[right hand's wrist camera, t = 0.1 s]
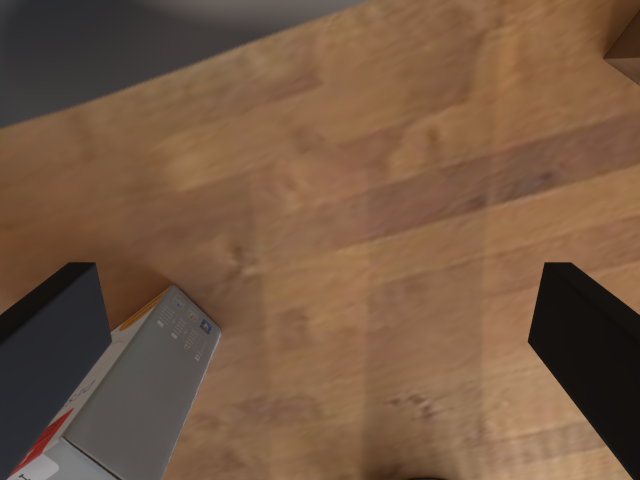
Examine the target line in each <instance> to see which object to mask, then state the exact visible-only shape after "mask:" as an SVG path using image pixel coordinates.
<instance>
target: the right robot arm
mask: <svg viewBox="0 0 640 480" xmlns="http://www.w3.org/2000/svg"><path fill="white" fill-rule="evenodd" d="M111 343H112V338H111V333H110V329H109V324H108V319H107V315H106V310H105V305H104V301H103V296H102V291H101V287H100V282H99V277H98V273H97V268H96V263H95V262H69V263H68V264H66V265H65V266H64V267H62V268H61V269H60V270H59V271H57V272H56V273H55V274H53V275H52V276H51V277H49V278H48V279H47V280H45V281H44V282H43V283H42V284H40V285H39V286H38V287H36V288H35V289H34V290H32V291H31V292H30V293H28V294H27V295H26V296H25V297H23V298H22V299H21V300H19V301H18V302H17V303H15V304H14V305H13V306H11V307H10V308H9V309H8V310H6V311H5V312H4V313H2V314H1V315H0V480H7V479H8V477H9V476H10V475H11V474H12V472H13V471H14V470H15V468H16V467H17V466H18V464H19V463H20V462H21V460H22V459H23V458H24V457H25V455H26V454H27V453H28V451H29V450H30V449H31V447H32V446H33V445H34V444H35V442H36V441H37V440H38V438H39V437H40V436H41V434H42V433H43V432H44V430H45V429H46V428H47V427H48V425H49V424H50V423H51V421H52V420H53V419H54V417H55V416H56V415H57V413H58V412H59V411H60V410H61V408H62V407H63V406H64V404H65V403H66V402H67V400H68V399H69V398H70V396H71V395H72V394H73V393H74V391H75V390H76V389H77V387H78V386H79V385H80V383H81V382H82V381H83V379H84V378H85V377H86V376H87V374H88V373H89V372H90V370H91V369H92V368H93V366H94V365H95V364H96V363H97V361H98V360H99V359H100V357H101V356H102V355H103V353H104V352H105V351H106V349H107V348H108V347H109V346H110V344H111ZM528 343H529V344H530V346H531V347H532V348H533V349H534V351H535V352H536V353H537V355H538V356H539V357H540V359H541V360H542V361H543V363H544V364H545V365H546V366H547V368H548V369H549V370H550V372H551V373H552V374H553V376H554V377H555V378H556V379H557V381H558V382H559V383H560V385H561V386H562V387H563V389H564V390H565V391H566V393H567V394H568V395H569V396H570V398H571V399H572V400H573V402H574V403H575V404H576V406H577V407H578V408H579V410H580V411H581V412H582V413H583V415H584V416H585V417H586V419H587V420H588V421H589V423H590V424H591V425H592V427H593V428H594V429H595V430H596V432H597V433H598V434H599V436H600V437H601V438H602V440H603V441H604V442H605V444H606V445H607V446H608V447H609V449H610V450H611V451H612V453H613V454H614V455H615V457H616V458H617V459H618V460H619V462H620V463H621V464H622V466H623V467H624V468H625V470H626V471H627V472H628V474H629V475H630V476H631V477H632V479H633V480H640V315H639V314H638V313H636V312H635V311H634V310H632V309H631V308H630V307H628V306H627V305H626V304H625V303H623V302H622V301H621V300H619V299H618V298H617V297H615V296H614V295H613V294H612V293H610V292H609V291H608V290H606V289H605V288H604V287H602V286H601V285H600V284H598V283H597V282H596V281H595V280H593V279H592V278H591V277H589V276H588V275H587V274H585V273H584V272H583V271H581V270H580V269H579V268H578V267H576V266H575V265H574V264H572V263H571V262H545V263H544V268H543V273H542V277H541V282H540V287H539V291H538V296H537V301H536V305H535V310H534V315H533V319H532V324H531V328H530V333H529V338H528ZM414 480H437V479H414Z"/></svg>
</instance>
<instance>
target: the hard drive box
mask: <svg viewBox="0 0 640 480" xmlns="http://www.w3.org/2000/svg"><path fill="white" fill-rule="evenodd" d="M110 333H111V338H112V343H111V344H110V346H109V347H108V348H107V349H106V351H105V352H104V353H103V355H102V356H101V357H100V359H99V360H98V361H97V363H96V364H95V365H94V366H93V368H92V369H91V370H90V372H89V373H88V374H87V376H86V377H85V378H84V379H83V381H82V382H81V383H80V385H79V386H78V387H77V389H76V390H75V391H74V393H73V394H72V395H71V396H70V398H69V399H68V400H67V402H66V403H65V404H64V406H63V407H62V408H61V410H60V411H59V412H58V413H57V415H56V416H55V417H54V419H53V420H52V421H51V423H50V424H49V425H48V427H47V428H46V429H45V430H44V432H43V433H42V434H41V436H40V437H39V438H38V440H37V441H36V442H35V444H34V445H33V446H32V447H31V449H30V450H29V451H28V453H27V454H26V455H25V457H24V458H23V459H22V460H21V462H20V463H19V464H18V466H17V467H16V468H15V470H14V471H13V472H12V474H11V475H10V476H9V477H8V479H7V480H162V477H163V476H164V473H165V470H166V468H167V465H168V463H169V460H170V458H171V455H172V453H173V450H174V448H175V446H176V443H177V441H178V438H179V436H180V433H181V431H182V428H183V426H184V424H185V421H186V419H187V416H188V414H189V412H190V409H191V407H192V404H193V402H194V400H195V397H196V395H197V392H198V390H199V387H200V385H201V383H202V380H203V378H204V375H205V373H206V370H207V368H208V366H209V363H210V361H211V358H212V356H213V354H214V351H215V349H216V346H217V344H218V341H219V339H220V336H221V333H222V332H221V329H220V328H219V327H218V326H217V325H216V324H215V323H214V322H213V321H212V320H211V319H210V318H209V317H208V316H207V315H206V314H205V313H204V312H202V311H201V310H200V309H199V308H198V307H197V306H196V305H195V304H194V303H193V302H192V301H191V300H190V299H189V298H188V297H187V296H186V295H185V294H184V293H183V292H182V291H181V290H180V289H179V288H178V287H176V286H175V285H171V286H170V287H168V288H167V289H166V290H164V291H163V292H162V293H160V294H159V295H158V296H157V297H155V298H154V299H153V300H151V301H150V302H149V303H148V304H146V305H145V306H144V307H142V308H141V309H140V310H139V311H137V312H136V313H135V314H134V315H132V316H131V317H130V318H128V319H127V320H126V321H125V322H123V323H122V324H121V325H119V326H118V327H117V328H116V329H114V330H113V331H112V332H110Z"/></svg>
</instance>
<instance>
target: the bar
mask: <svg viewBox="0 0 640 480" xmlns="http://www.w3.org/2000/svg"><path fill="white" fill-rule="evenodd" d="M604 60H605V61H607V62H608V63H609V64H611V65H612V66H613V67H615V68H616V69H618V70H619V71H620V72H622V73H623V74H624V75H626V76H627V77H629V78H630V79H631V80H633V81H634V82H636V83H637V84H638V85H640V11H639V12H638V14H637V15H636V16H635V18H634V19H633V20H632V22H631V23H630V24H629V26H628V27H627V28H626V29H625V31H624V32H623V33H622V35H621V36H620V37H619V39H618V40H617V41H616V43H615V44H614V45H613V47H612V48H611V49H610V51H609V52H608V53H607V55H606V56H605V57H604Z"/></svg>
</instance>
